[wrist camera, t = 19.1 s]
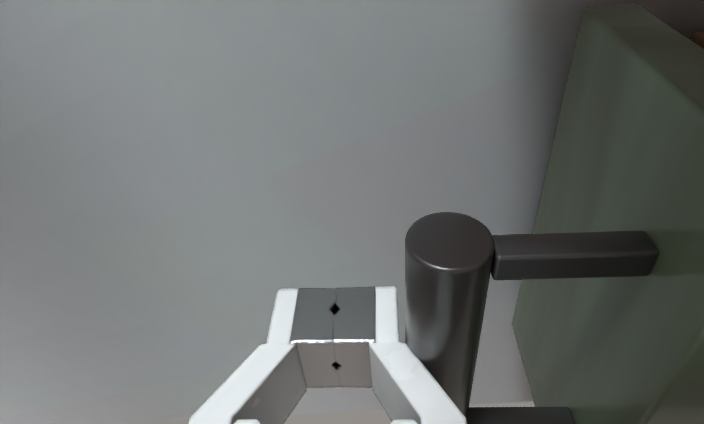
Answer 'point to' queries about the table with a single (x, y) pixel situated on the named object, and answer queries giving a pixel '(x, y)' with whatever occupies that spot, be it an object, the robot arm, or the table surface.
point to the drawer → (589, 246)
